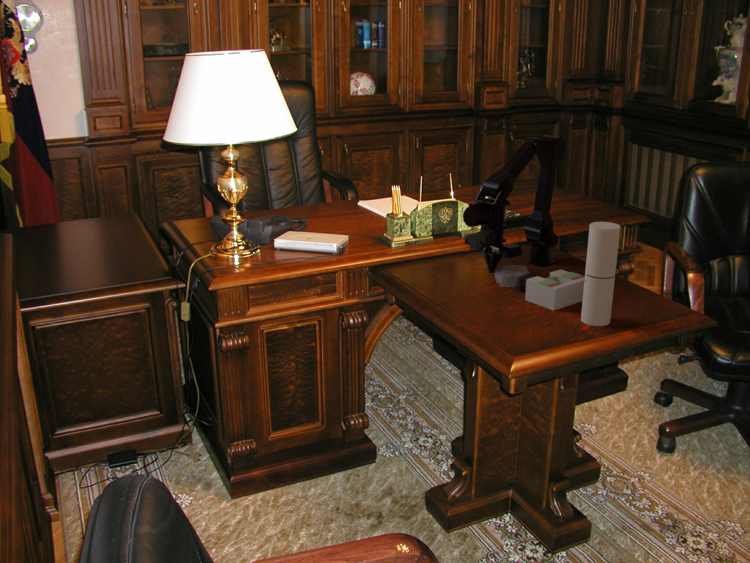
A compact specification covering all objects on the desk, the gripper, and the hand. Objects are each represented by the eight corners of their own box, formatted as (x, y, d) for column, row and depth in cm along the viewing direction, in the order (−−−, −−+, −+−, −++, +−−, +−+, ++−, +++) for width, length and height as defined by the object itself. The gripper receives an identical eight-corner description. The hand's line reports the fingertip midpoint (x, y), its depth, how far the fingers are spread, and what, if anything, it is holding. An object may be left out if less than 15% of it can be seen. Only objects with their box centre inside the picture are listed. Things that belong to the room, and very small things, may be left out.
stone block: (498, 293, 211) (533, 287, 210) (496, 278, 210) (530, 271, 209) (494, 281, 223) (527, 275, 222) (491, 266, 221) (524, 260, 220)
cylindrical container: (593, 328, 182) (603, 230, 174) (575, 318, 188) (583, 223, 180) (616, 323, 185) (626, 227, 177) (597, 313, 191) (606, 220, 183)
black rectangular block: (533, 284, 212) (534, 267, 210) (557, 292, 205) (559, 275, 203) (516, 289, 208) (517, 272, 206) (540, 298, 201) (542, 280, 199)
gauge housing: (558, 289, 209) (560, 268, 207) (587, 299, 201) (589, 277, 199) (525, 300, 201) (526, 278, 199) (553, 310, 193) (555, 288, 191)
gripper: (452, 219, 217) (450, 269, 222) (497, 232, 202) (494, 286, 208) (479, 213, 223) (477, 262, 228) (525, 226, 209) (521, 278, 214)
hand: (491, 272), depth 219 cm, fingers closed
